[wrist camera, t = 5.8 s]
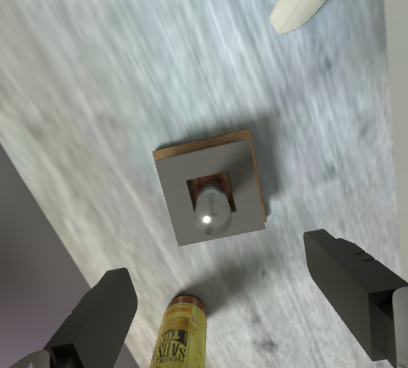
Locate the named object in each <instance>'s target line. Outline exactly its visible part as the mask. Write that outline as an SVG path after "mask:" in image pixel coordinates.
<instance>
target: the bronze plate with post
mask: <svg viewBox="0 0 408 368" xmlns="http://www.w3.org/2000/svg"><path fill="white" fill-rule="evenodd" d="M244 139H249V140H250V145H251V151H252V156H253V162H254V168H255V173H256V179H257V184H258V190H259V195H260V201H261V206H262V212H263V218H264V222H267V220H266V215H265V209H264V203H263V198H262V192H261V186H260V181H259V175H258V169H257V164H256V158H255V153H254V147H253V141H252V136H251V130H250V128H249V129H245V130H241V131H237V132H232V133H228V134H224V135H220V136H215V137H211V138H207V139H203V140H199V141H194V142H190V143H186V144H182V145H177V146H173V147H169V148H165V149H160V150H156V151H152V153H153V156H154V160H155V161H156V160H159V159H163V158H167V157H171V156H176V155H180V154H184V153H189V152H193V151H197V150H201V149H206V148H210V147H214V146H219V145H223V144H227V143H232V142H236V141H240V140H244ZM188 182H189V186H190V190H191V194H192V198H193V202H194V206H195V213H194V222H195V225H196V227H197V228H198V229H199V230H200V231H201V232H202V233H204V234H206V235H210V236H216V235H220V234H222V233H224V232H225V231H227V230H228V228H229V227H230V225H231V223H232V213H231V210H230V208H231V207H235V204H234V199H233V194H232V189H231V185H230V180H229V175H228V171H225V172H221V173H216V174H212V175H208V176H203V177H199V178H194V179H190V180H188Z"/></svg>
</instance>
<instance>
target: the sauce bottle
mask: <svg viewBox="0 0 408 368" xmlns="http://www.w3.org/2000/svg"><path fill="white" fill-rule="evenodd" d="M206 328H207V320H206V310H205V307H204V305H203V304H202V302H201V301H200V300H198V299H197V298H195V297H193V296H180V297H177V298H174V299H173V300H172V301H171V302H170V304H169V305H168V307H167V309H166V311H165V313H164V316H163V319H162V323H161V327H160V330H159V334H158V338H157V341H156V345H155V348H154V351H153V356H152V359H151V363H150V366H149V368H205V351H206Z"/></svg>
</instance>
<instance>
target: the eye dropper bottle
mask: <svg viewBox="0 0 408 368" xmlns="http://www.w3.org/2000/svg"><path fill="white" fill-rule="evenodd" d="M325 1H326V0H277V2H276V4H275V6H274V8H273V10H272V12H271V14H270V22H271V24H272V25H273V27H274V29H275V31H276V32H277V33H278V34H285V33H288V32H291V31H293V30H296V29H297V28H299V27H301V26H302V25H303V24H305V23H306V22H307V21H308V20H309V19H310V18H311V17H312V16H313V15H314V14H315V13H316V12H317V11H318V9H319V8H320V7H321V6H322V5H323V4H324V2H325Z"/></svg>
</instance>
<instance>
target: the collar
mask: <svg viewBox="0 0 408 368" xmlns="http://www.w3.org/2000/svg"><path fill="white" fill-rule="evenodd" d="M155 164H156V168H157V172H158V175H159V179H160V182H161V186H162V189H163V193H164V196H165V200H166V203H167V207H168V211H169V214H170V218H171V221H172V225H173V228H174V232H175V235H176V239H177V242H178V246H183V245H188V244H193V243H198V242H203V241H208V240H213V239H218V238H223V237H228V236H233V235H238V234H243V233H248V232H253V231H258V230H262V229H265V223H264V218H263V212H262V206H261V201H260V195H259V190H258V184H257V179H256V173H255V168H254V162H253V156H252V151H251V145H250V140H249V139H244V140H240V141H236V142H232V143H227V144H223V145H219V146H214V147H210V148H206V149H201V150H197V151H193V152H189V153H184V154H180V155H176V156H171V157H167V158H163V159H159V160H156V161H155ZM225 171H228V175H229V180H230V185H231V189H232V194H233V199H234V204H235V207H231V208H230V210H231V213H232V223H231V225H230V227H229V228H228V230H227V231H225V232H224V233H222V234H220V235H216V236H210V235H206V234H204V233H202V232H201V231H200V230H199V229H198V228H197V227H196V225H195V222H194V213H195V206H194V202H193V198H192V194H191V190H190V186H189V182H188V180H190V179H194V178H199V177H203V176H208V175H212V174H216V173H221V172H225Z"/></svg>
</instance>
